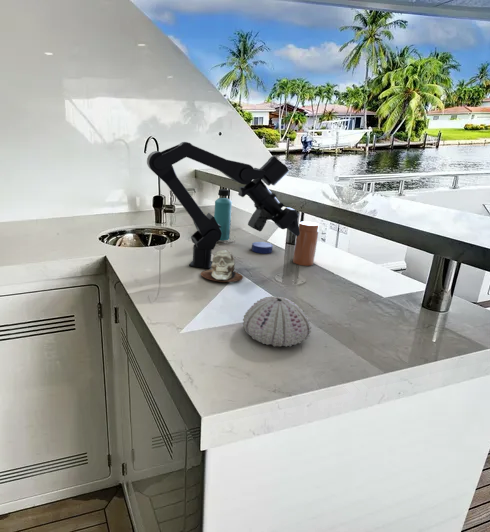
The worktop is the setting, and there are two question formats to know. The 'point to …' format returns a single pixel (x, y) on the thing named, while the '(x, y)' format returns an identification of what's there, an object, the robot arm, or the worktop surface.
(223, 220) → the beverage bottle
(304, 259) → the jar
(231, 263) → the skull
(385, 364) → the worktop surface
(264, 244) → the jar lid
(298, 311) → the sea urchin shell
